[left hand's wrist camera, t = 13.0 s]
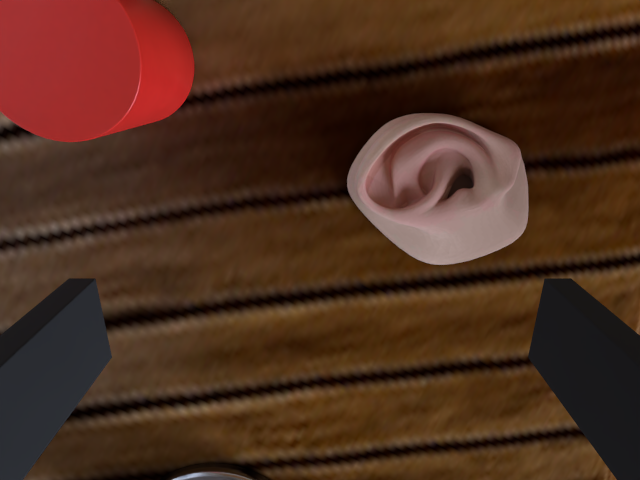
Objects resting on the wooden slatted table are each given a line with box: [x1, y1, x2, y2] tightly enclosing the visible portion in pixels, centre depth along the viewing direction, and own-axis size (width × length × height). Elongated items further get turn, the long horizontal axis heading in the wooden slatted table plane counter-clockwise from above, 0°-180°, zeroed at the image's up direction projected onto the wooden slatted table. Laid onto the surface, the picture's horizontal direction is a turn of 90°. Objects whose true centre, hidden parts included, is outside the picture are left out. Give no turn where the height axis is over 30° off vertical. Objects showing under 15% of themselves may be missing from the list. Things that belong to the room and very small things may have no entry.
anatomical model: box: [347, 113, 528, 265], centre depth 30 cm, size 13×4×12 cm
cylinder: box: [0, 0, 194, 142], centre depth 24 cm, size 8×8×10 cm
